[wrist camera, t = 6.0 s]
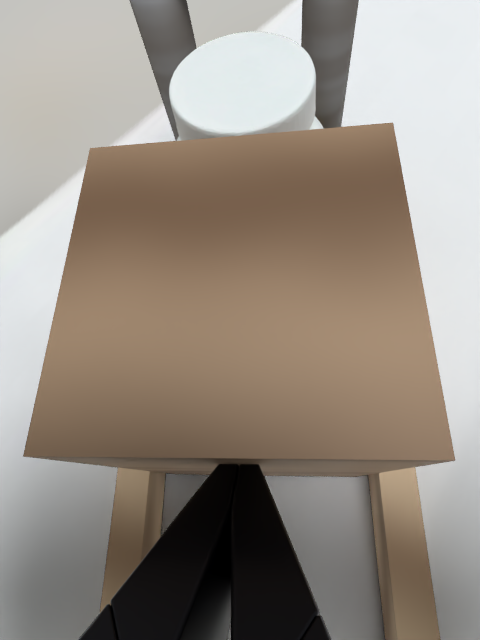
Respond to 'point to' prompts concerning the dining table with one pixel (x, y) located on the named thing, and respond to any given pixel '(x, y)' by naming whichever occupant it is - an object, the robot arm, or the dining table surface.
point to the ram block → (243, 312)
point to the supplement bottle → (244, 88)
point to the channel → (385, 488)
